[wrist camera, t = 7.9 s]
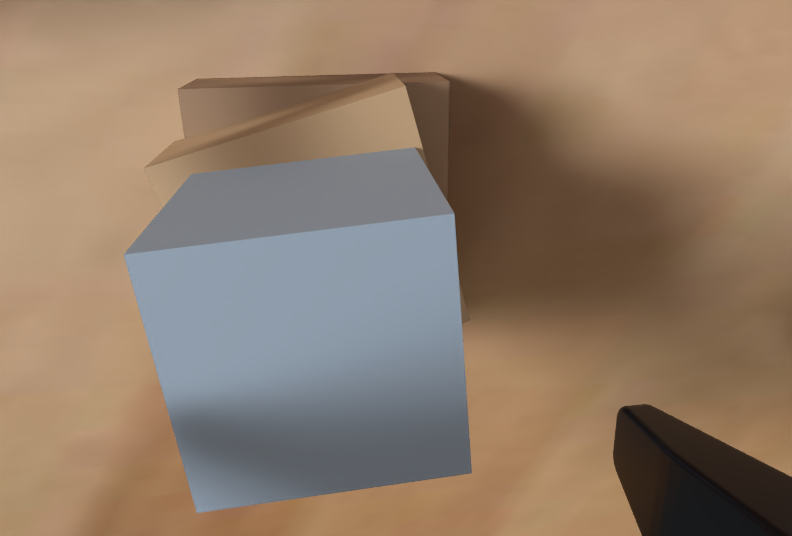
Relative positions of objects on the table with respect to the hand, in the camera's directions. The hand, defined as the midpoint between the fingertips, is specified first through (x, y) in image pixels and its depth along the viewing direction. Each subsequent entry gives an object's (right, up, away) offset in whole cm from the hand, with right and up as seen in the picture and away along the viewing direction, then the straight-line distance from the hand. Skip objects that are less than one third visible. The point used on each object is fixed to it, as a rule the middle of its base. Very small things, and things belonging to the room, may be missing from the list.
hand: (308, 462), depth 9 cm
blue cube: (-1, +3, +6) cm, 7 cm away
